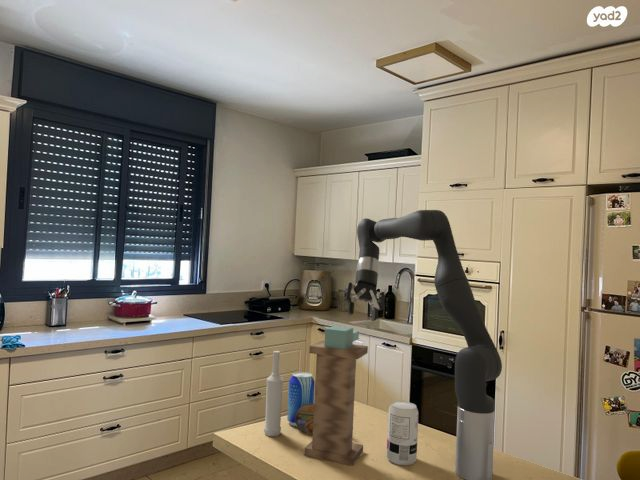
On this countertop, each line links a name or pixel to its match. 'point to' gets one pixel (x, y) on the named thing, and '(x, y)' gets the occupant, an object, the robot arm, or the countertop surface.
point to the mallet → (340, 337)
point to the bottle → (274, 399)
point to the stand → (334, 404)
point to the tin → (305, 418)
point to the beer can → (299, 393)
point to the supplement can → (402, 433)
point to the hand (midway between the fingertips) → (362, 317)
